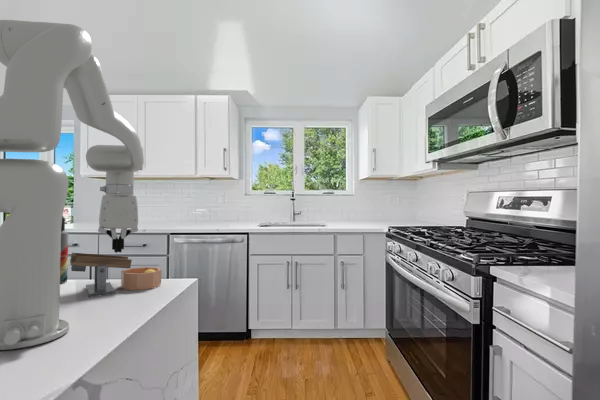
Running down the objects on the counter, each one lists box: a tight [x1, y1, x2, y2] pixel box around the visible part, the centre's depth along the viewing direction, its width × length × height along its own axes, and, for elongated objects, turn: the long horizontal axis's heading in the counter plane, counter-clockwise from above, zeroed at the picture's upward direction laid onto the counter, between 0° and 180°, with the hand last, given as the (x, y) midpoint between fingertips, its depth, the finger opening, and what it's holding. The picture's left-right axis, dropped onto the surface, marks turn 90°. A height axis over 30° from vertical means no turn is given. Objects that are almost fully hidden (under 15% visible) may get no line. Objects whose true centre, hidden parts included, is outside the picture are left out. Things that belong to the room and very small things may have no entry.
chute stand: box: [85, 265, 116, 298], centre depth 96 cm, size 12×6×8 cm, turn 35°
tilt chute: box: [69, 252, 132, 273], centre depth 99 cm, size 15×14×4 cm
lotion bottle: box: [60, 215, 69, 285], centre depth 104 cm, size 6×6×20 cm
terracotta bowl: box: [120, 266, 162, 291], centre depth 102 cm, size 10×10×4 cm
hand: (117, 251), depth 105 cm, fingers closed
